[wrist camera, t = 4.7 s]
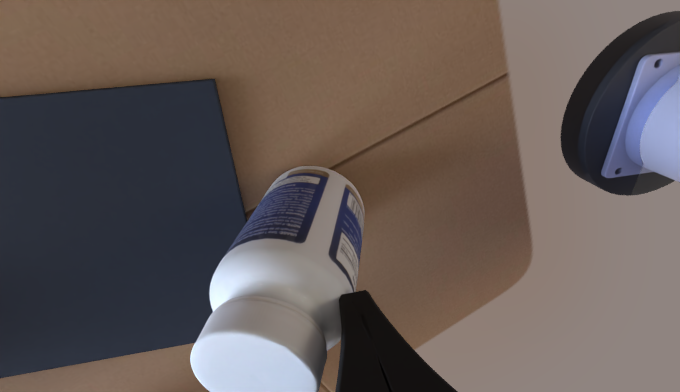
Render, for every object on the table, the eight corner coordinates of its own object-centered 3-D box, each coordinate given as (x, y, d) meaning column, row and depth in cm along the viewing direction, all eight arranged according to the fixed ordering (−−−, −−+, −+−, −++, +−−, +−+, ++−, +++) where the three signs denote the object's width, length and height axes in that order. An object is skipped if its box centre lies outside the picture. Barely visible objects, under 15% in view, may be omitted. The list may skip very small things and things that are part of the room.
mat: (215, 78, 15) (213, 80, 15) (270, 324, 23) (270, 329, 23) (-333, 126, 13) (-350, 130, 12) (-64, 384, 20) (-70, 391, 20)
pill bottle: (254, 220, 19) (150, 384, 11) (291, 144, 17) (189, 283, 8) (337, 261, 20) (298, 445, 12) (384, 194, 17) (378, 370, 9)
